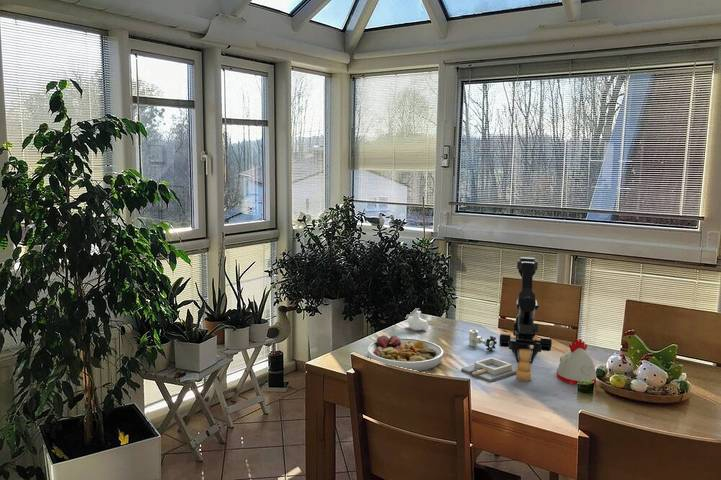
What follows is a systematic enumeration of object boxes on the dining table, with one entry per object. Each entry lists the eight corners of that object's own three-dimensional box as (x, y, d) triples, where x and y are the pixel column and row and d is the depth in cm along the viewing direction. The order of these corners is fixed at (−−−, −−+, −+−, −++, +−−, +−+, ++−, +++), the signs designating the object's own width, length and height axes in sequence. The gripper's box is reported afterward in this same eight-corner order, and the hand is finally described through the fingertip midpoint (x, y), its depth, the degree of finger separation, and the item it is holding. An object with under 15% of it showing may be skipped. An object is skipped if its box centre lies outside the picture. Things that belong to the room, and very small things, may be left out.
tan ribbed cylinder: (522, 375, 226) (523, 347, 225) (533, 379, 222) (535, 350, 221) (513, 378, 223) (514, 349, 222) (524, 382, 219) (526, 353, 218)
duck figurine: (406, 331, 287) (397, 315, 281) (415, 319, 291) (406, 304, 285) (426, 337, 279) (417, 321, 273) (434, 325, 282) (425, 309, 276)
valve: (464, 345, 261) (486, 353, 251) (465, 331, 260) (487, 337, 251) (474, 342, 265) (496, 350, 256) (475, 328, 264) (497, 335, 255)
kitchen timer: (548, 374, 228) (551, 336, 226) (577, 369, 233) (579, 332, 231) (575, 387, 215) (578, 347, 213) (604, 382, 221) (607, 343, 219)
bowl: (457, 361, 241) (458, 342, 240) (411, 381, 219) (412, 360, 218) (399, 344, 261) (399, 327, 260) (351, 361, 240) (352, 342, 238)
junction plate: (495, 360, 242) (496, 353, 242) (524, 370, 231) (524, 363, 231) (458, 371, 229) (458, 364, 229) (487, 383, 218) (487, 375, 218)
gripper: (501, 312, 226) (498, 350, 217) (553, 317, 221) (552, 355, 212) (500, 327, 234) (498, 364, 225) (550, 331, 230) (550, 369, 221)
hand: (524, 362), depth 221 cm, fingers closed on tan ribbed cylinder, 5 cm apart
